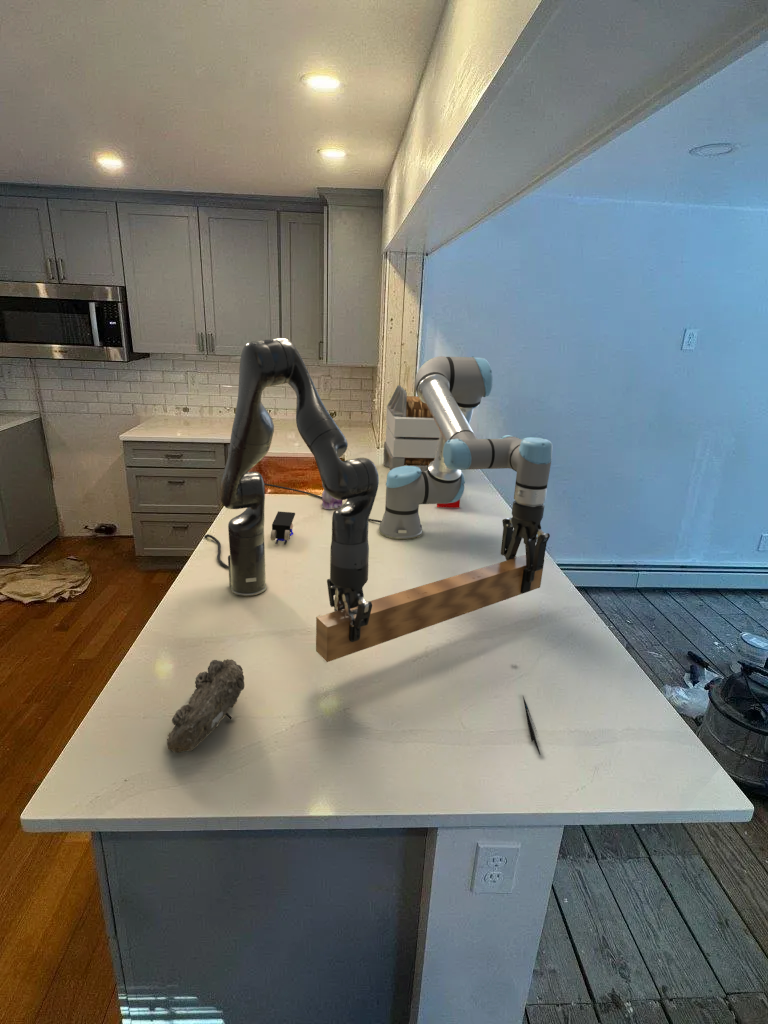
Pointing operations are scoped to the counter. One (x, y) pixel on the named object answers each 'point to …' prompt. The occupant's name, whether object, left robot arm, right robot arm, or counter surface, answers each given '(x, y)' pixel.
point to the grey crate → (409, 432)
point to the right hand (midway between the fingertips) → (517, 587)
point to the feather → (530, 725)
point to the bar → (422, 607)
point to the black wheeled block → (282, 527)
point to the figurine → (330, 501)
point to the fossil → (206, 705)
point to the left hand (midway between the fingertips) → (347, 634)
